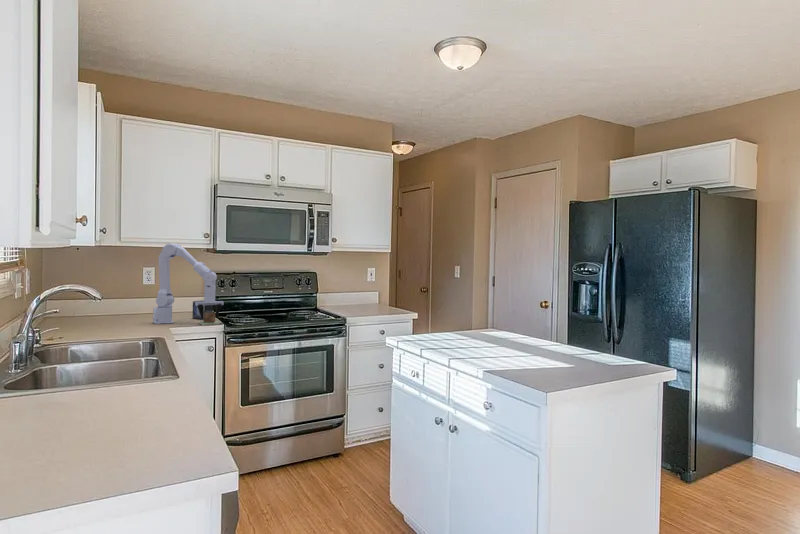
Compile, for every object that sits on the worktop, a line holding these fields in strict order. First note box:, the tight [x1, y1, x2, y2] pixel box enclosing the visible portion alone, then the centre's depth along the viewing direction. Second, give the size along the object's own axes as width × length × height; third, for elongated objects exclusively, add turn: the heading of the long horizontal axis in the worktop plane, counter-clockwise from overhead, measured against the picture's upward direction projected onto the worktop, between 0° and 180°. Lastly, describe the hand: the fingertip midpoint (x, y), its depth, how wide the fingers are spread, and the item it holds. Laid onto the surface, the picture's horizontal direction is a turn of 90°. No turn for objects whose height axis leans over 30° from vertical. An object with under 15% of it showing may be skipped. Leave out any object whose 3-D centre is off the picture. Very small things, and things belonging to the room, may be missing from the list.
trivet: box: [198, 320, 221, 326], centre depth 270 cm, size 9×9×1 cm
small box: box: [192, 300, 214, 321], centre depth 289 cm, size 11×6×10 cm, turn 62°
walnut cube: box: [202, 312, 216, 323], centre depth 270 cm, size 5×5×5 cm
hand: (209, 318), depth 270 cm, fingers open, 7 cm apart
